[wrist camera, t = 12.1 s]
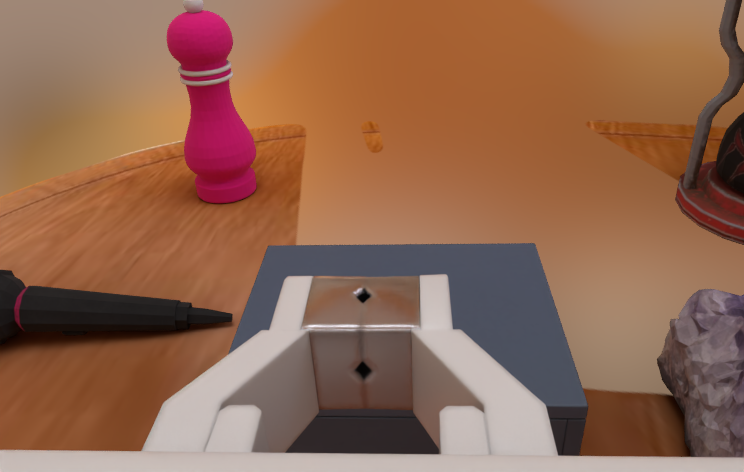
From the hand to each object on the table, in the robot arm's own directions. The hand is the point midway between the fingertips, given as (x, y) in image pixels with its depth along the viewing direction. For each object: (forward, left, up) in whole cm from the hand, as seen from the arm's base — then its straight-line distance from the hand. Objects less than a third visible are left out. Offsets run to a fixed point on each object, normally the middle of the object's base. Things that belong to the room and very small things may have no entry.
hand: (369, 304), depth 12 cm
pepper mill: (+19, -50, -23) cm, 58 cm away
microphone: (+23, -26, -23) cm, 41 cm away
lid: (0, -17, -14) cm, 22 cm away
